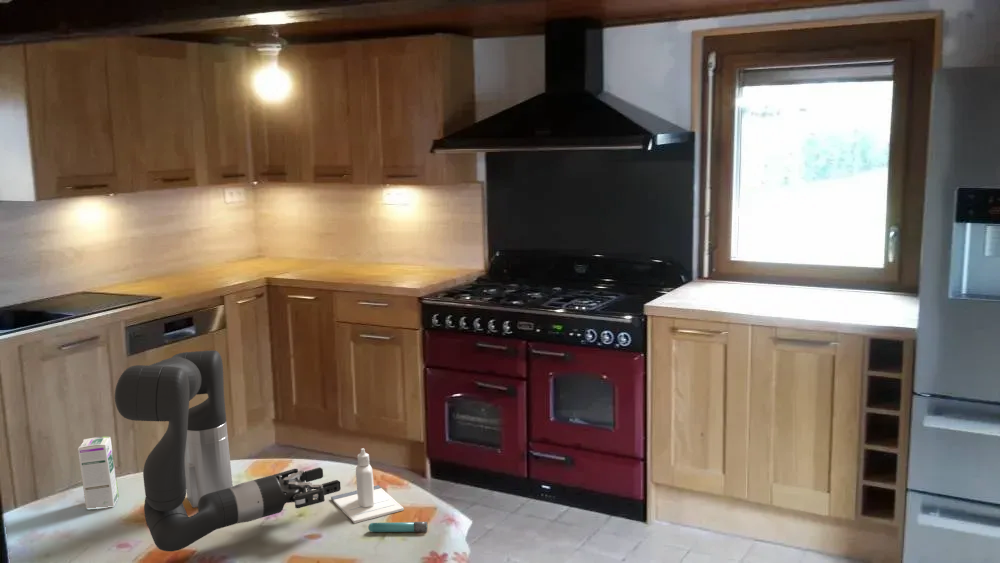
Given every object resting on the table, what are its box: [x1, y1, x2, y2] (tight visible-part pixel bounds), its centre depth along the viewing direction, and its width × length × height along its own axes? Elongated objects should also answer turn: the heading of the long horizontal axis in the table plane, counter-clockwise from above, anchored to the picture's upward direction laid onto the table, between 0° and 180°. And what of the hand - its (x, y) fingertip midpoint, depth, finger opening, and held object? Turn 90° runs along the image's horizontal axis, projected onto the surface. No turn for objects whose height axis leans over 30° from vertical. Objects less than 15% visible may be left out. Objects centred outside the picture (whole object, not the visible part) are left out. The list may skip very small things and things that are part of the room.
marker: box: [368, 521, 428, 533], centre depth 176 cm, size 12×2×2 cm, turn 87°
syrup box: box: [77, 436, 120, 509], centre depth 193 cm, size 6×6×14 cm
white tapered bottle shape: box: [355, 447, 375, 507], centre depth 188 cm, size 4×6×12 cm
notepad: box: [330, 484, 405, 524], centre depth 189 cm, size 11×14×1 cm
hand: (330, 478), depth 184 cm, fingers open, 8 cm apart
